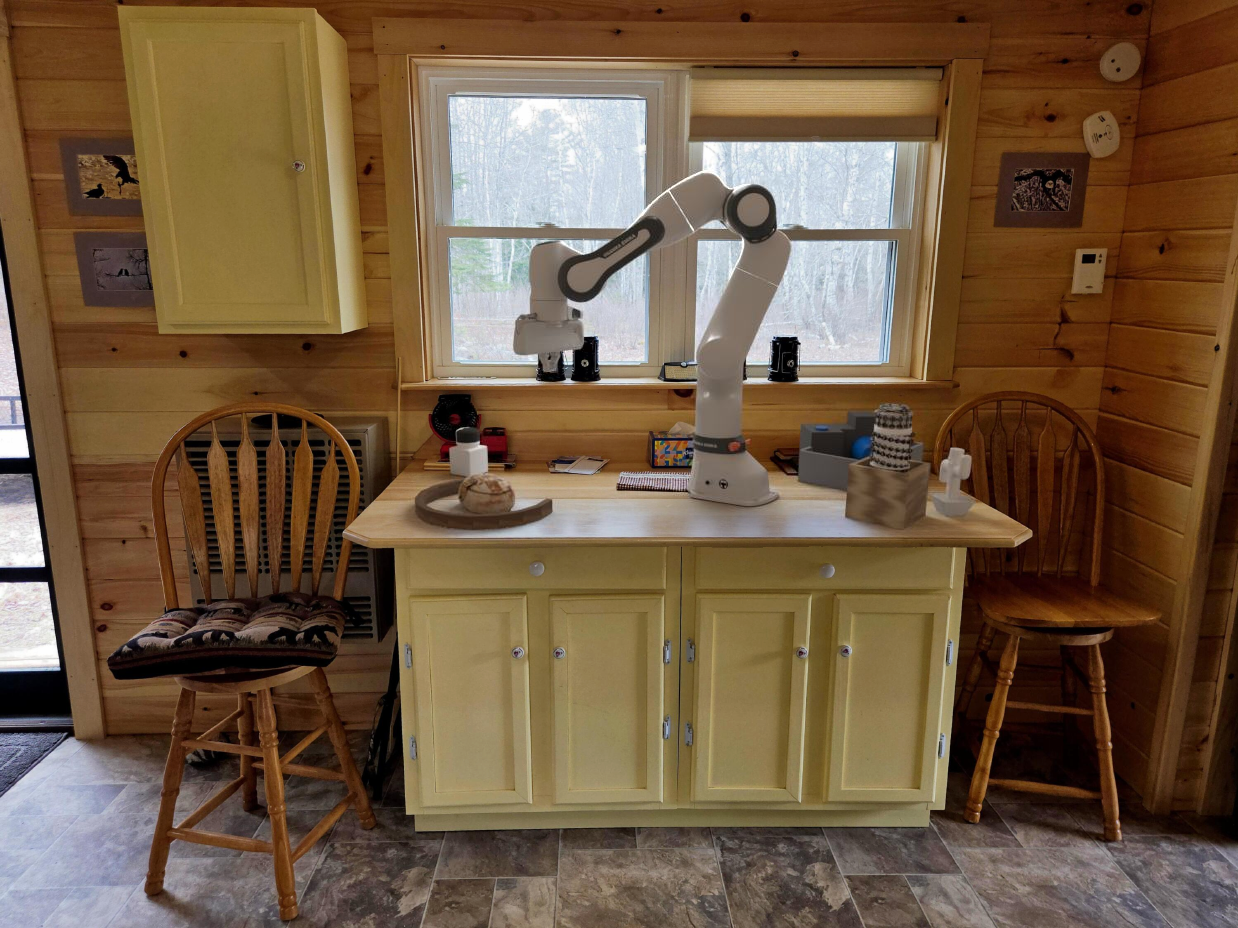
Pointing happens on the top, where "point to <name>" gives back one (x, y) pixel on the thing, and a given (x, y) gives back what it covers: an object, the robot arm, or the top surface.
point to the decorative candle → (892, 438)
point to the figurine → (953, 484)
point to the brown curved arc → (473, 520)
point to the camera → (841, 436)
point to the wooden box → (887, 493)
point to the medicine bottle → (468, 453)
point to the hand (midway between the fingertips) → (549, 371)
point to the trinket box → (486, 494)
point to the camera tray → (834, 467)
